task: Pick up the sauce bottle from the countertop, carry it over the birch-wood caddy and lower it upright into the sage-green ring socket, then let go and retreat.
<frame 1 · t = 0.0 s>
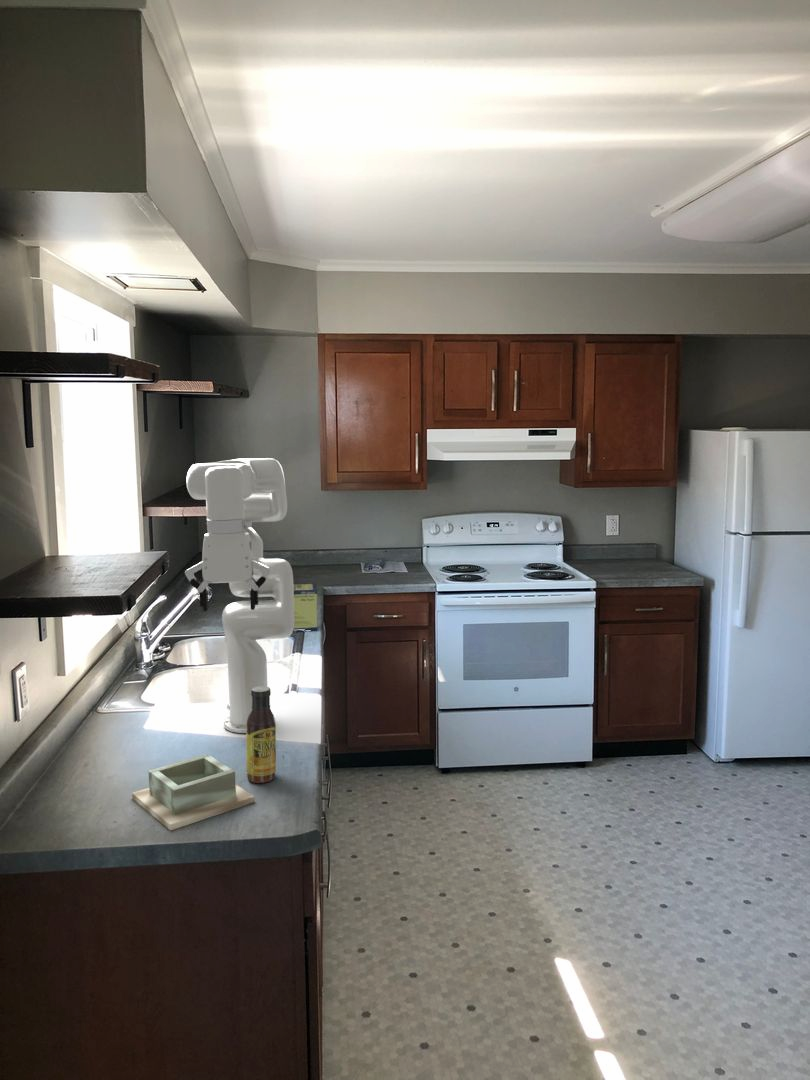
hand: (229, 609, 176), 37 cm above the countertop, tool pointing down, fingers open, 9 cm apart
caddy: (193, 800, 172), on the countertop
protein box: (296, 629, 310), on the countertop
sauce bottle: (262, 779, 182), on the countertop
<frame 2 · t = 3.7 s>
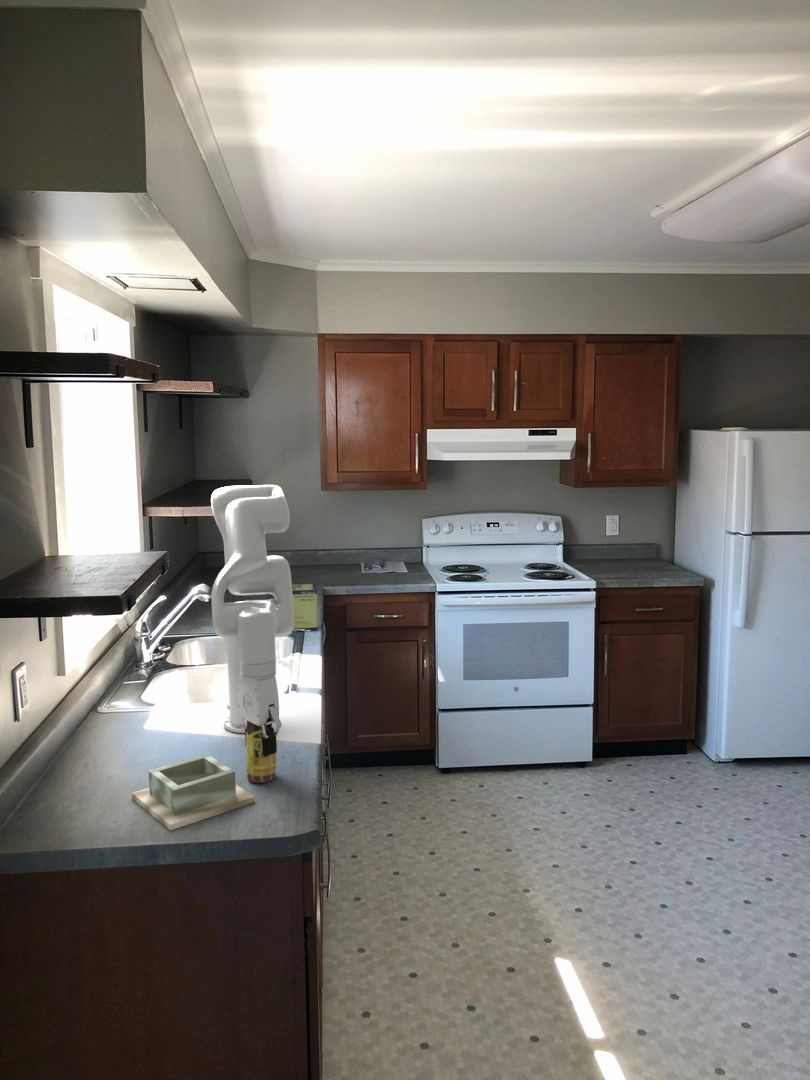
hand: (261, 748, 181), 7 cm above the countertop, tool pointing down, fingers closed on sauce bottle, 6 cm apart
sauce bottle: (262, 779, 182), on the countertop, touching gripper
everything else where it was.
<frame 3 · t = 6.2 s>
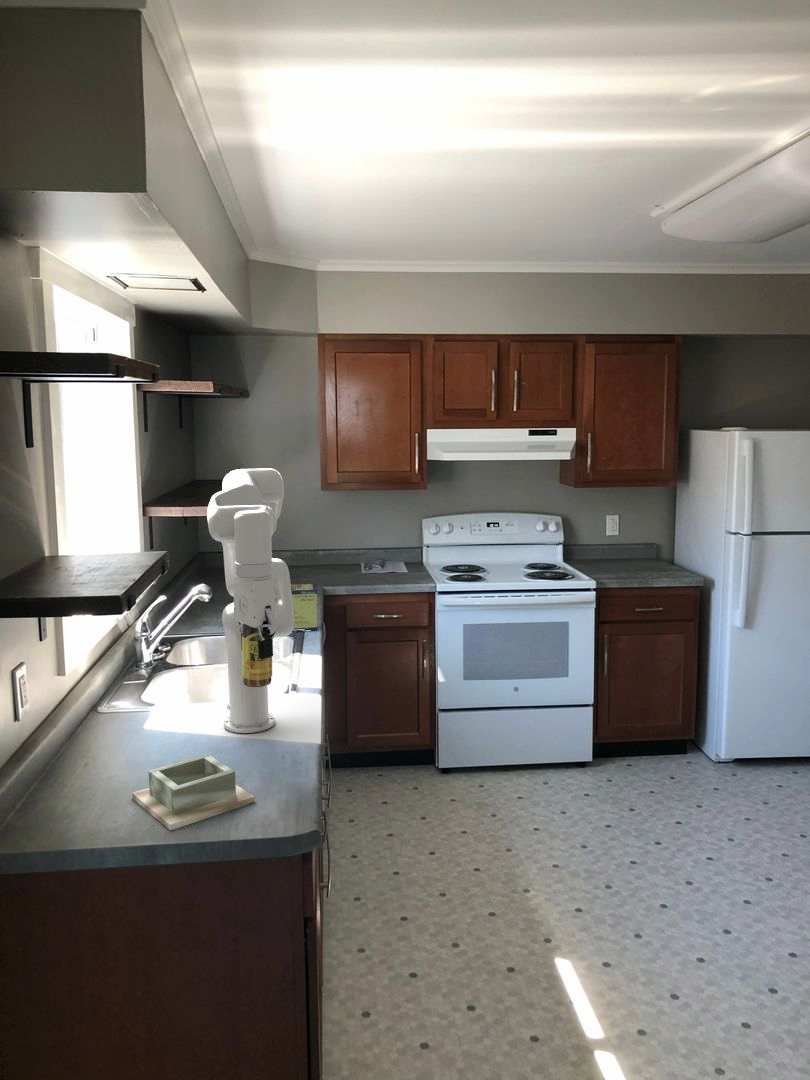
hand: (257, 653, 179), 27 cm above the countertop, tool pointing down, fingers closed on sauce bottle, 6 cm apart
sauce bottle: (258, 684, 180), point 21 cm above the countertop, touching gripper
everything else where it was.
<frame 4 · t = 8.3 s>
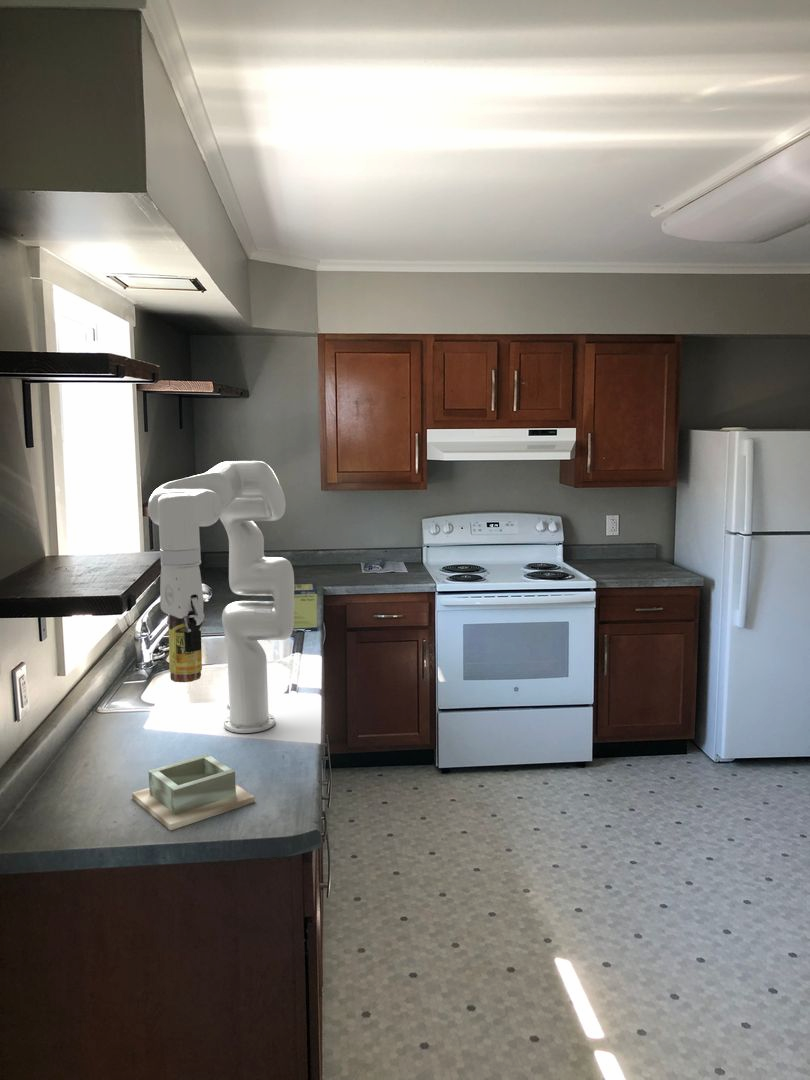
hand: (185, 646, 168), 32 cm above the countertop, tool pointing down, fingers closed on sauce bottle, 6 cm apart
sauce bottle: (187, 679, 169), point 25 cm above the countertop, touching gripper
everything else where it was.
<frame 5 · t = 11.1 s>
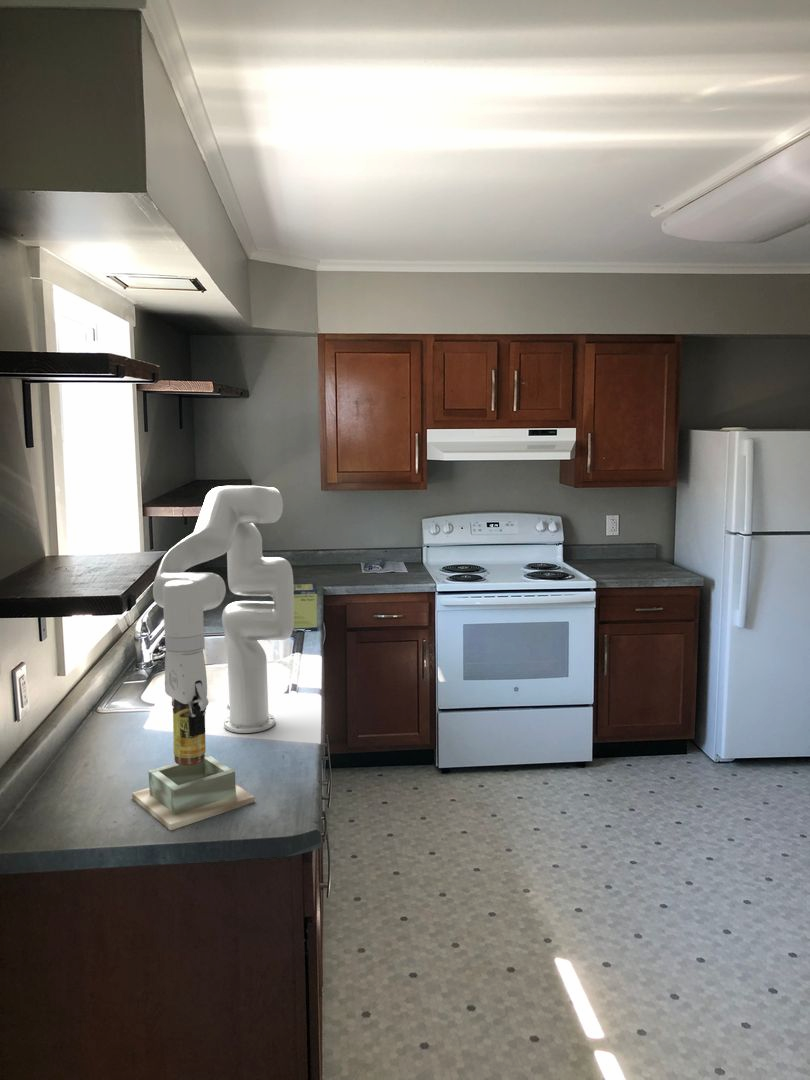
hand: (189, 729, 170), 15 cm above the countertop, tool pointing down, fingers closed on sauce bottle, 6 cm apart
sauce bottle: (190, 761, 171), point 8 cm above the countertop, touching gripper
everything else where it was.
when the fingers open (10 cm above the countertop, at t = 13.2 s): sauce bottle drops 2 cm, resting on caddy.
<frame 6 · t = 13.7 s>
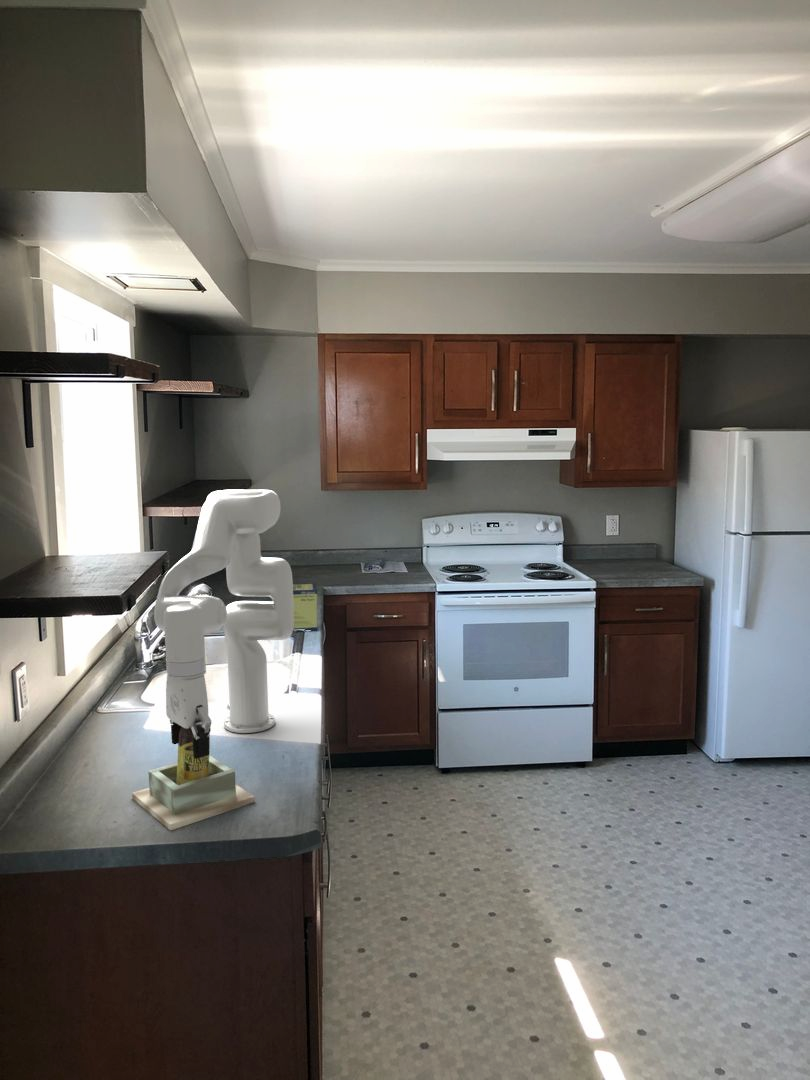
hand: (190, 749, 171), 11 cm above the countertop, tool pointing down, fingers open, 9 cm apart
sauce bottle: (193, 794, 172), point 1 cm above the countertop, touching caddy
everything else where it was.
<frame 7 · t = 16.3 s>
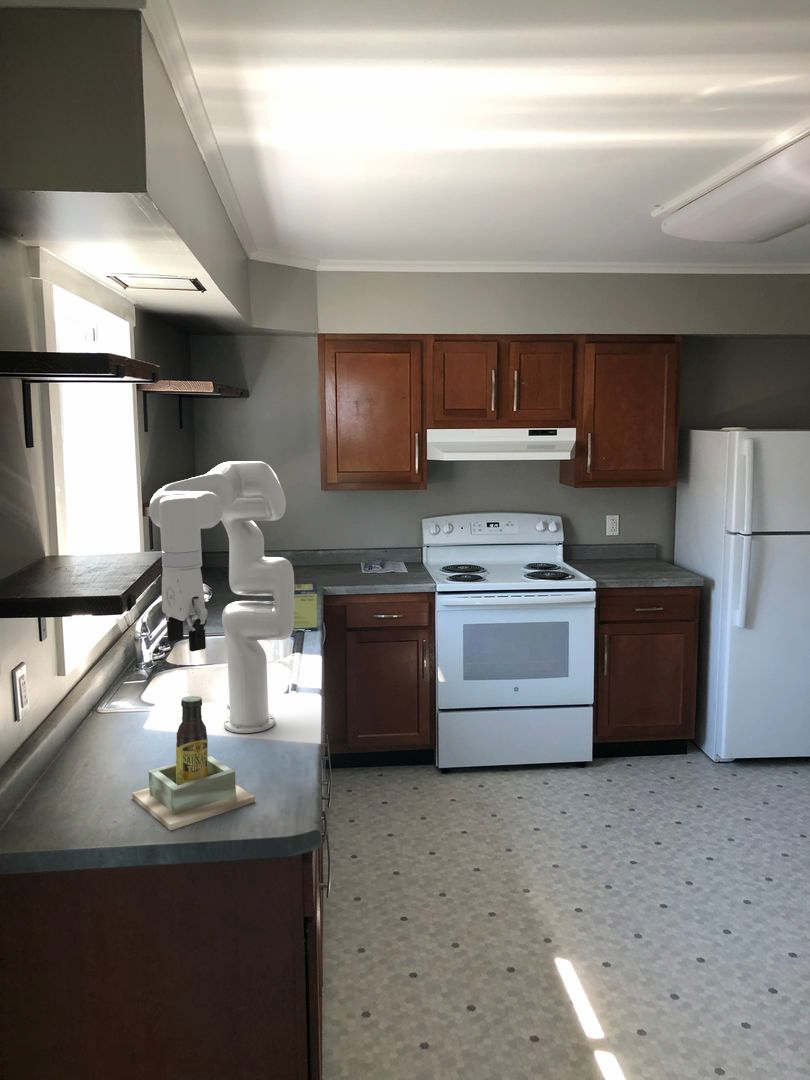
hand: (186, 644, 168), 32 cm above the countertop, tool pointing down, fingers open, 9 cm apart
nothing on the countertop moved.
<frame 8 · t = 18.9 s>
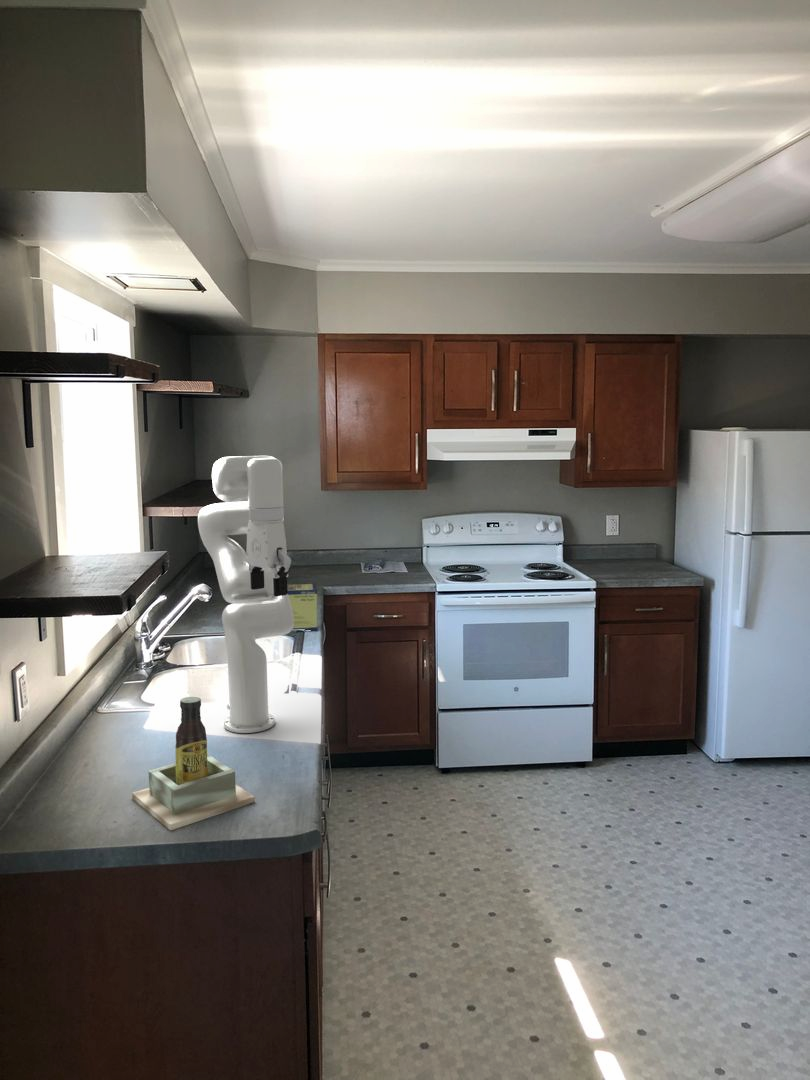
hand: (269, 592, 188), 38 cm above the countertop, tool pointing down, fingers open, 9 cm apart
nothing on the countertop moved.
at the end: sauce bottle 0.3 cm off-centre on the caddy, point 1.0 cm above the caddy's base; sauce bottle tilted 0°; the gripper is holding nothing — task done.
